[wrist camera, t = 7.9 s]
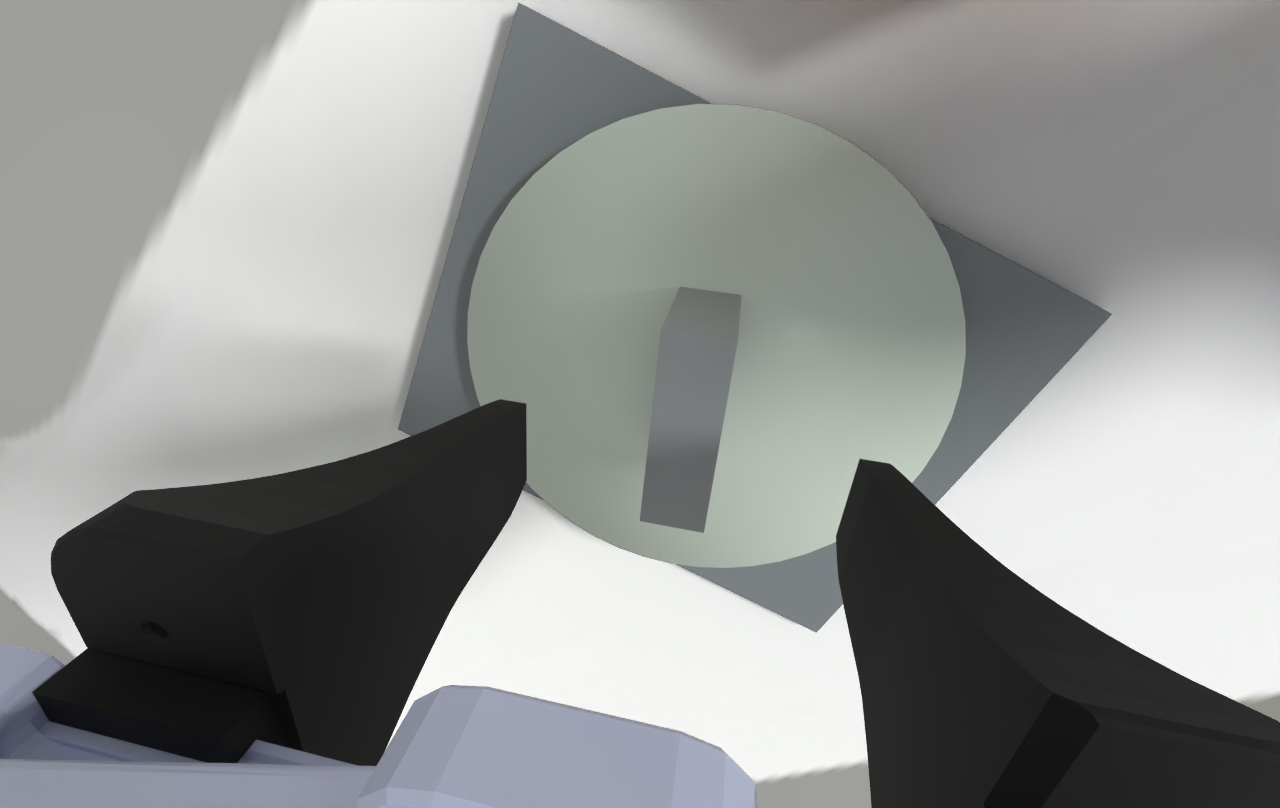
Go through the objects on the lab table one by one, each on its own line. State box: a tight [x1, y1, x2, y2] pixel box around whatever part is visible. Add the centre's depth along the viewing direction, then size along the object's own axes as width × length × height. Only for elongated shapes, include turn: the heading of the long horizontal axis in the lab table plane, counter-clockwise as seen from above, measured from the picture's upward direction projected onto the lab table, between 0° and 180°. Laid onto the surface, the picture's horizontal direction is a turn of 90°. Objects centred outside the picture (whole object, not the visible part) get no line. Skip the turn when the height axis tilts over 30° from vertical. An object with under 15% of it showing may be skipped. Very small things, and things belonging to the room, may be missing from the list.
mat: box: [398, 3, 1112, 632], centre depth 17 cm, size 16×13×1 cm
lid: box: [467, 104, 966, 568], centre depth 15 cm, size 14×14×4 cm
